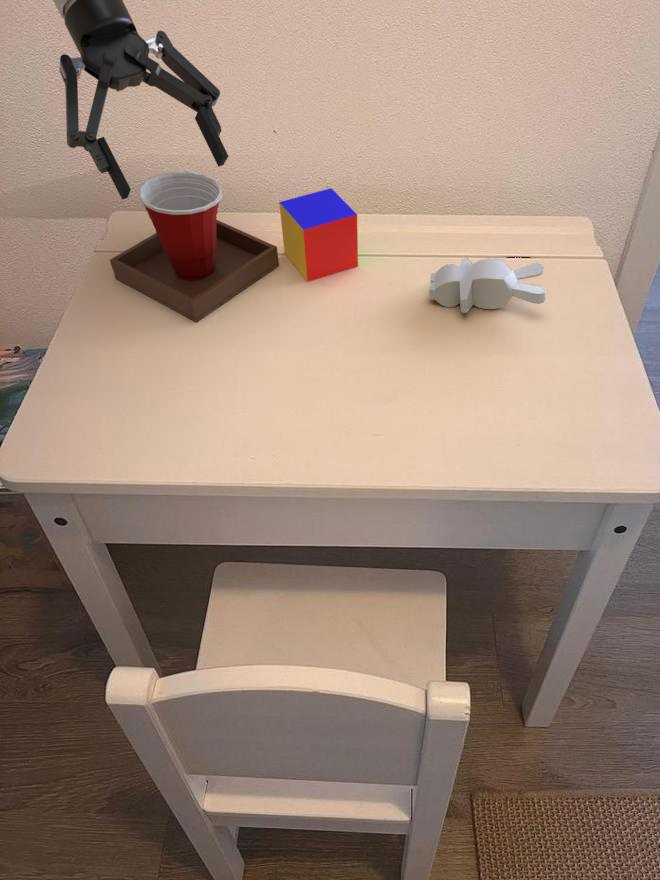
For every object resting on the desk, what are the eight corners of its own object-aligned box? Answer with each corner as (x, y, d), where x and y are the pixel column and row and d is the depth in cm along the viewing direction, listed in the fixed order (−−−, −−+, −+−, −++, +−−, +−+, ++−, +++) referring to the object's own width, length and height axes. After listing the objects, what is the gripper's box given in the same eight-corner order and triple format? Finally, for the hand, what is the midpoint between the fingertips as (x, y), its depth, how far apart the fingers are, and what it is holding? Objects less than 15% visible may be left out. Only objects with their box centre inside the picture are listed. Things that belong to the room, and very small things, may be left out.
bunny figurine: (431, 251, 98) (543, 245, 96) (433, 283, 102) (541, 278, 100) (427, 292, 92) (547, 287, 90) (430, 324, 96) (545, 320, 94)
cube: (307, 281, 101) (303, 229, 95) (284, 253, 105) (279, 202, 99) (357, 266, 103) (357, 214, 97) (333, 239, 108) (331, 188, 101)
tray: (115, 279, 101) (109, 259, 99) (199, 228, 110) (195, 209, 107) (196, 322, 95) (191, 303, 93) (279, 265, 103) (277, 246, 101)
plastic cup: (243, 280, 100) (231, 199, 91) (166, 298, 97) (145, 216, 88) (224, 241, 106) (210, 161, 97) (151, 256, 104) (130, 176, 95)
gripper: (178, 6, 94) (252, 161, 98) (-10, 50, 85) (80, 220, 89) (190, -33, 88) (269, 135, 92) (-14, 11, 78) (84, 197, 82)
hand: (176, 177), depth 90 cm, fingers open, 13 cm apart
